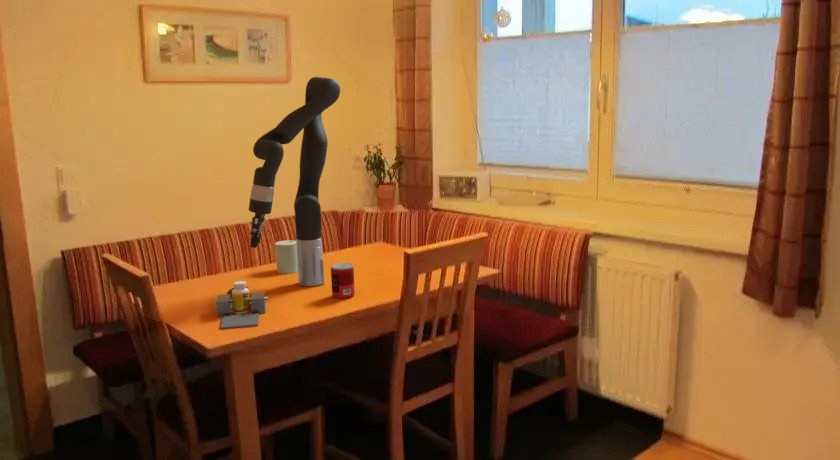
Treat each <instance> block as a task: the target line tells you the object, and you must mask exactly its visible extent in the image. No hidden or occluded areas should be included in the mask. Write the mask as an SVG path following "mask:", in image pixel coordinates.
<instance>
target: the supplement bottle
mask: <svg viewBox="0 0 840 460" xmlns="http://www.w3.org/2000/svg"><path fill="white" fill-rule="evenodd" d="M246 286H247V282H246V281H245V280H244V281H243V280H240V281H237V280H236V281H234V282H233V288H234V289H233V290H232V298H231V300H232V303H233V304H232V312H233V314H236V315H243V314H246V313H247V314H248V313H249V312H251V311H250V310H251V302H250V301H249V298H250V292H249V288H248V289H247V288H246Z"/></svg>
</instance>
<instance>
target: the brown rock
mask: <svg viewBox="0 0 840 460" xmlns="http://www.w3.org/2000/svg"><path fill="white" fill-rule="evenodd" d="M246 288H247V289H248V290H249V288H248V286H247V285H246ZM233 289H234V287H232V288H230V289H229V290H228V291H227V292H226V293H225V295H227V294H230V297H231V299H232V290H233Z"/></svg>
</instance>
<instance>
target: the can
mask: <svg viewBox="0 0 840 460" xmlns="http://www.w3.org/2000/svg"><path fill="white" fill-rule="evenodd" d="M274 247H275V259H276V260H275V261H276V273H278V274H283V275H284V274H286V275H287V274H289V275H290V274H296V273H298V260H297V244H296V240H294V239H292V240H291V239H290V240H289V239H287V240H279V241H276V242H275V243H274Z"/></svg>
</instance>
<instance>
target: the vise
mask: <svg viewBox="0 0 840 460" xmlns="http://www.w3.org/2000/svg"><path fill="white" fill-rule="evenodd" d="M265 295H266V294H265V291H256V292H255V291H254V292H251V297H249V301H250V303H251V309H252V310H251V311H252V313H251V314H256V313H259V315H260V314H266V302H269V297H268V296H265ZM215 309H216V310H215V311H216V317H217V318H223V316H231V315H232V314H231V313H232V310H233V303H232V298H231V297H230V294H218V295H217V297H216V300H215Z"/></svg>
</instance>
